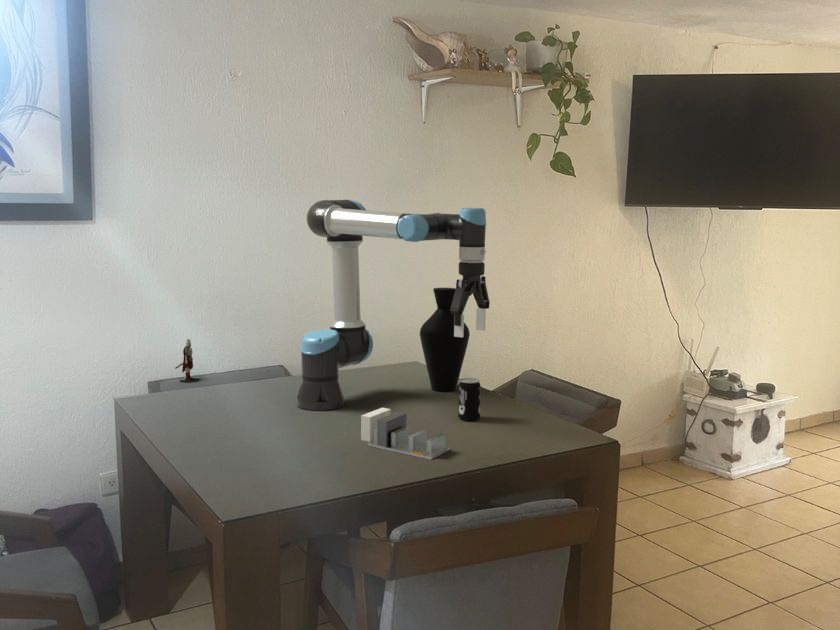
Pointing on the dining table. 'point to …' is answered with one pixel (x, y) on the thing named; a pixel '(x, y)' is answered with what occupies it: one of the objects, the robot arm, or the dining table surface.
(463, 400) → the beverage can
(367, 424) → the blank panel
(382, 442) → the rack
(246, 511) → the dining table surface
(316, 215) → the robot arm
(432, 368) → the vase
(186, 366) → the figurine
